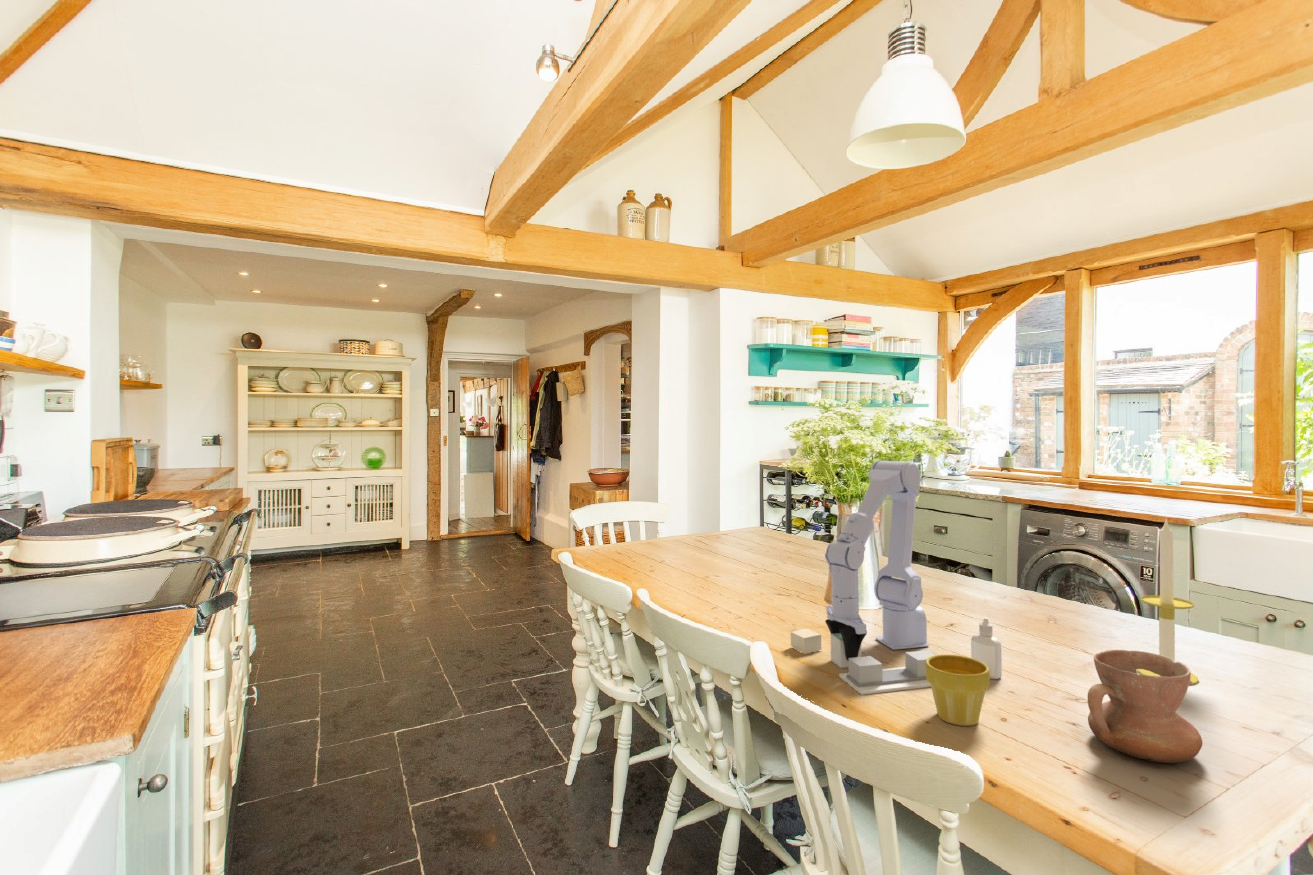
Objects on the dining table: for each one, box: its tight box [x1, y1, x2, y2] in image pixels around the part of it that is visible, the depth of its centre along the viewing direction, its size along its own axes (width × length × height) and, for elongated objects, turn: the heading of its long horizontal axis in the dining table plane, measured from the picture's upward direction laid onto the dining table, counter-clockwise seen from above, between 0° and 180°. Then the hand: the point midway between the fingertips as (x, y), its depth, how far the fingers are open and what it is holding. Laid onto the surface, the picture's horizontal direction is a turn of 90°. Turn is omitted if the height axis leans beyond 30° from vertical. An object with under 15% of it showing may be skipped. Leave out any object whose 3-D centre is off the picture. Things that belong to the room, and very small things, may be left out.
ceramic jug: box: [1087, 649, 1203, 764], centre depth 100 cm, size 18×14×14 cm
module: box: [830, 633, 862, 669], centre depth 138 cm, size 5×4×6 cm
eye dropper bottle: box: [970, 617, 1003, 680], centre depth 130 cm, size 4×6×12 cm
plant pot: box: [926, 653, 991, 727], centre depth 112 cm, size 10×10×10 cm
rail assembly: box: [838, 649, 935, 696], centre depth 128 cm, size 20×9×5 cm, turn 101°
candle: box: [1136, 518, 1200, 686], centre depth 128 cm, size 10×10×32 cm
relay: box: [790, 627, 822, 655], centre depth 147 cm, size 5×5×4 cm
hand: (846, 655), depth 138 cm, fingers closed on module, 4 cm apart
